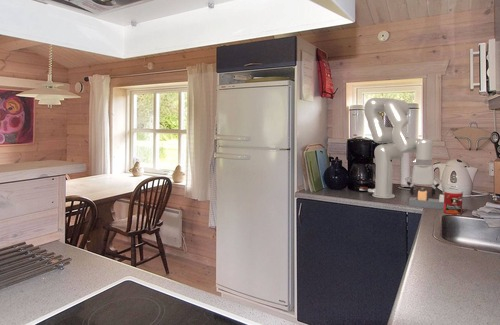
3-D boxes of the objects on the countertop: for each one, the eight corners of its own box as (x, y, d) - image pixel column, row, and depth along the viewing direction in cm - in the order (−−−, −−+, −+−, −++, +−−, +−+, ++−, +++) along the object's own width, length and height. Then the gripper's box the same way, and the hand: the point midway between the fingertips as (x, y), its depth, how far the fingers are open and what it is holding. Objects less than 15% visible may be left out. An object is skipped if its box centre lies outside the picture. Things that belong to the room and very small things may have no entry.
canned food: (444, 214, 163) (445, 191, 162) (442, 210, 170) (443, 188, 169) (463, 215, 160) (464, 192, 159) (460, 211, 167) (461, 189, 166)
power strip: (408, 206, 180) (409, 194, 180) (410, 203, 187) (410, 191, 187) (452, 210, 170) (453, 197, 170) (452, 207, 177) (453, 194, 176)
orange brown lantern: (417, 206, 180) (418, 187, 179) (418, 204, 183) (418, 186, 182) (426, 207, 178) (426, 188, 177) (426, 205, 181) (427, 187, 180)
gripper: (404, 162, 180) (403, 194, 181) (442, 164, 171) (440, 197, 173) (406, 161, 186) (405, 192, 188) (442, 162, 177) (441, 195, 179)
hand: (422, 195), depth 180 cm, fingers open, 9 cm apart
